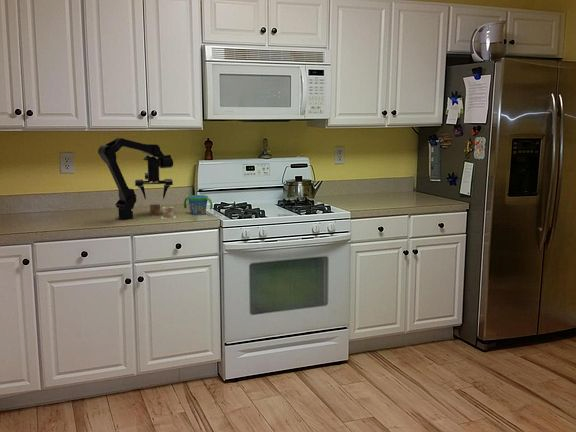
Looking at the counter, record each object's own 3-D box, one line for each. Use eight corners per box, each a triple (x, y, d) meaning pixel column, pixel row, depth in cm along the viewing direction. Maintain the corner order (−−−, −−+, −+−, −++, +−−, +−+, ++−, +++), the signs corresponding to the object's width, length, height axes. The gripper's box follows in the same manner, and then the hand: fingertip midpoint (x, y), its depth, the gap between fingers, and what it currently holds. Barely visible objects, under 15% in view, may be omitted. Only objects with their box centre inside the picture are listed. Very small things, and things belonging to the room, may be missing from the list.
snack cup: (216, 214, 322) (215, 195, 320) (206, 218, 313) (205, 198, 311) (190, 212, 328) (190, 194, 326) (180, 216, 319) (179, 196, 317)
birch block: (163, 218, 306) (163, 208, 305) (162, 216, 310) (162, 206, 309) (173, 217, 307) (173, 208, 306) (172, 216, 312) (172, 206, 311)
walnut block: (150, 215, 314) (150, 206, 313) (150, 214, 318) (149, 204, 318) (160, 215, 315) (160, 205, 314) (159, 213, 320) (159, 204, 319)
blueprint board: (150, 221, 302) (150, 219, 302) (149, 215, 321) (149, 213, 321) (183, 220, 306) (183, 218, 306) (179, 213, 325) (179, 211, 325)
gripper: (170, 167, 323) (171, 196, 325) (134, 167, 318) (135, 197, 321) (172, 169, 312) (173, 199, 315) (134, 169, 307) (135, 200, 310)
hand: (154, 199), depth 315 cm, fingers open, 9 cm apart
